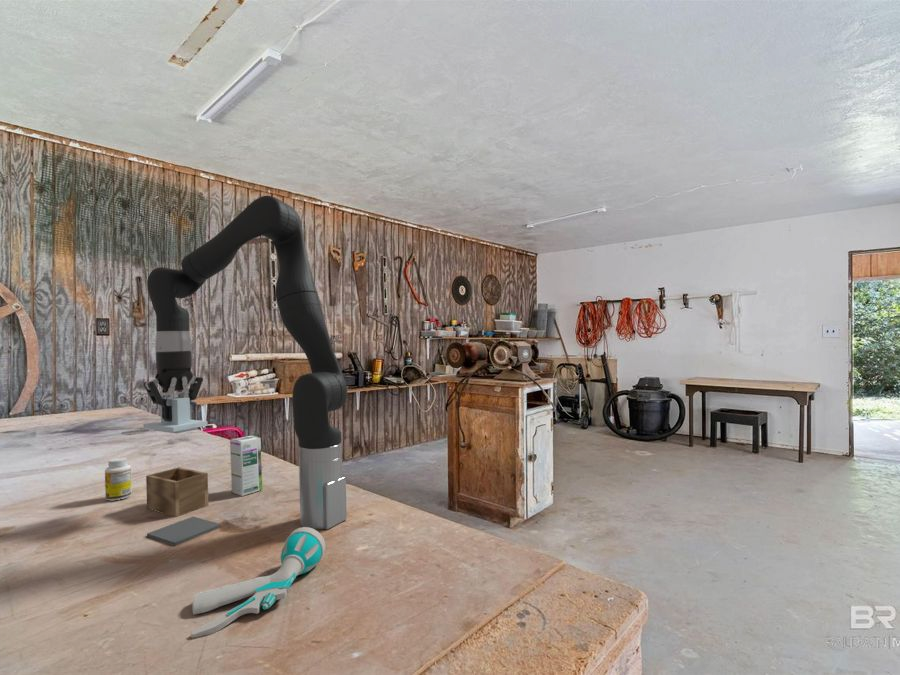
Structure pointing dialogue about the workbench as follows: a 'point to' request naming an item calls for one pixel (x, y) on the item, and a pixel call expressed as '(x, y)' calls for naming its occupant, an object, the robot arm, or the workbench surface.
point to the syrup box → (246, 465)
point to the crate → (177, 491)
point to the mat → (183, 530)
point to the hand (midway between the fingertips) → (175, 419)
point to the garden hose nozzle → (262, 582)
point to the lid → (177, 418)
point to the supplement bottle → (118, 479)
